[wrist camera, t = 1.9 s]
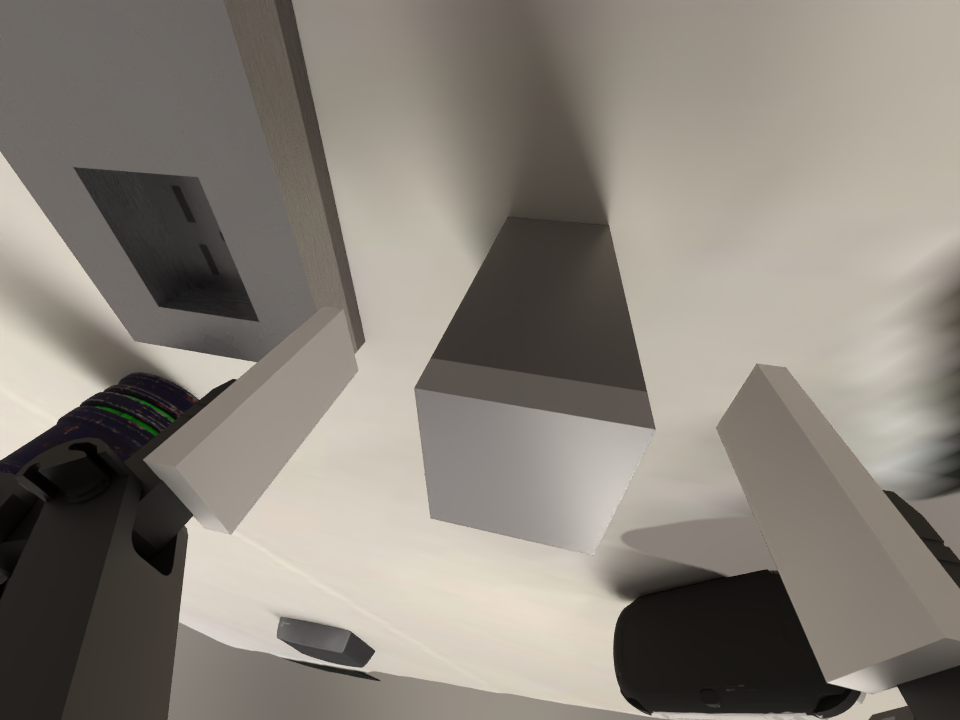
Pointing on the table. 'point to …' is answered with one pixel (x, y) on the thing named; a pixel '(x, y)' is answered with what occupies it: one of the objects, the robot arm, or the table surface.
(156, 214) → the socket board
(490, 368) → the plug
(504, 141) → the table surface
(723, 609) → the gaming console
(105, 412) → the storage jar
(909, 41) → the table surface
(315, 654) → the external hard drive
